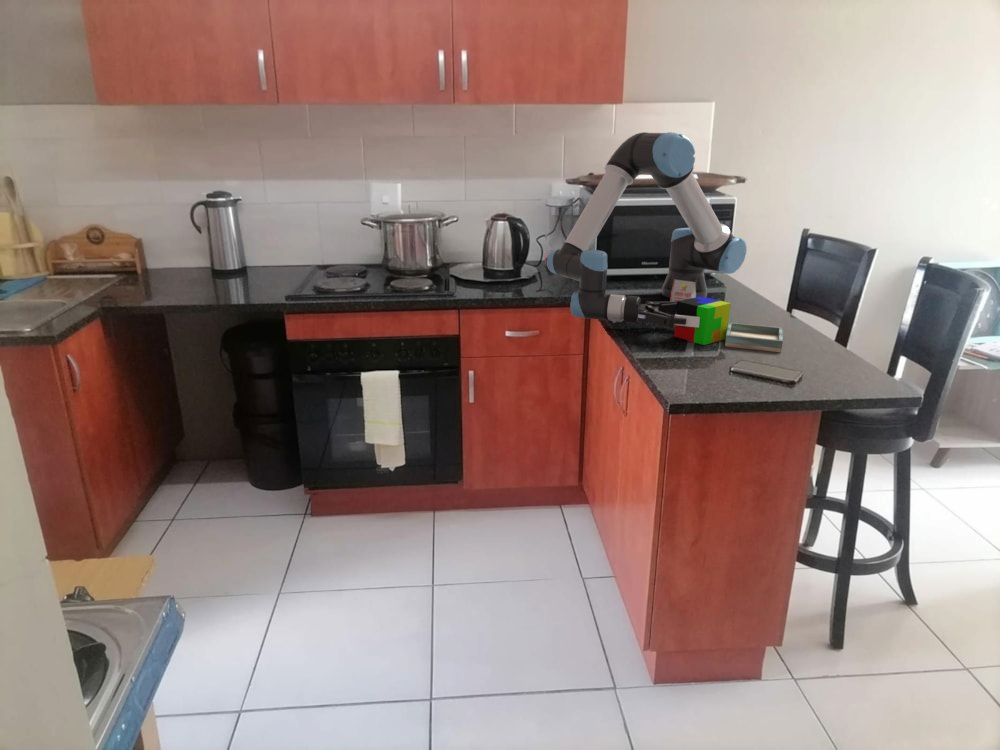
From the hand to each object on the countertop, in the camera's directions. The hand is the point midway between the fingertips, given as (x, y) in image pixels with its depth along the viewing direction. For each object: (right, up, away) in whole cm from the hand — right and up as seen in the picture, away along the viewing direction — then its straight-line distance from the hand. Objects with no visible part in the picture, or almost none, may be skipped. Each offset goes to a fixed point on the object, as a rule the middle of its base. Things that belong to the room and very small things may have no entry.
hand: (702, 316), depth 193 cm
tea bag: (+2, +3, +28) cm, 28 cm away
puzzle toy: (0, -6, +2) cm, 6 cm away
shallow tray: (+13, -7, -2) cm, 15 cm away
